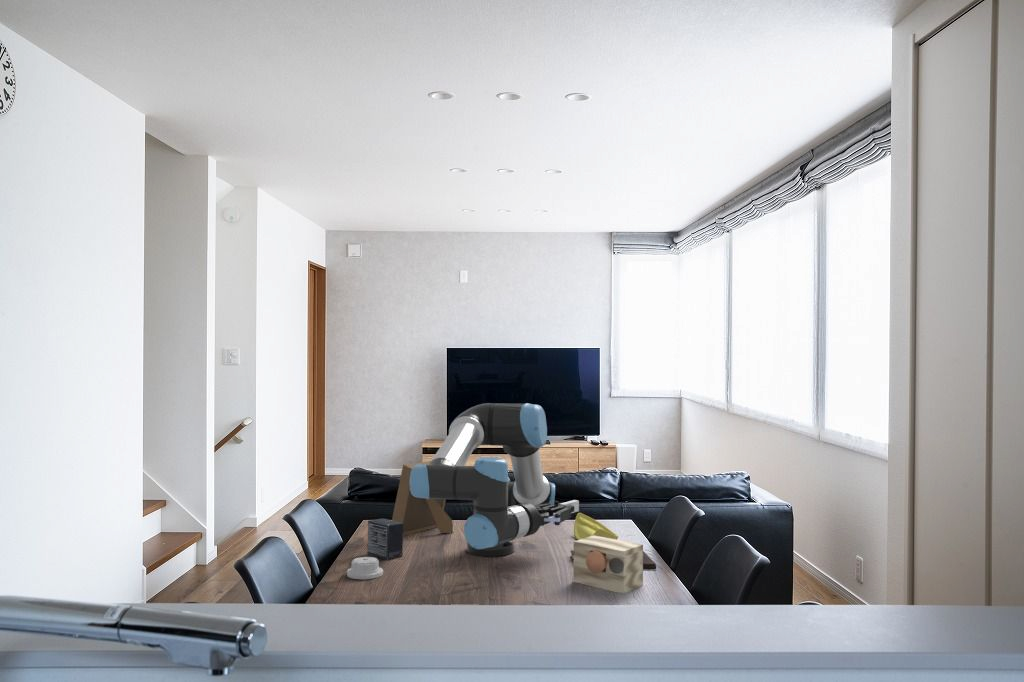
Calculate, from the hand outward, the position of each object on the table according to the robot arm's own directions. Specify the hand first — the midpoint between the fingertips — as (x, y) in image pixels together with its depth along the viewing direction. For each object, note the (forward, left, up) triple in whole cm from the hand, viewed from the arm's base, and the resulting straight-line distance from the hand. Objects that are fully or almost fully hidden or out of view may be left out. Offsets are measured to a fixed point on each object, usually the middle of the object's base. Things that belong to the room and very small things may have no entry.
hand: (576, 505), depth 190 cm
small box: (-52, +44, -24) cm, 72 cm away
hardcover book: (+17, +33, -24) cm, 44 cm away
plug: (+10, +11, -19) cm, 24 cm away
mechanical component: (-56, +23, -24) cm, 65 cm away
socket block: (+11, +11, -23) cm, 28 cm away
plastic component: (+18, +63, -24) cm, 70 cm away
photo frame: (-40, +74, -24) cm, 88 cm away
